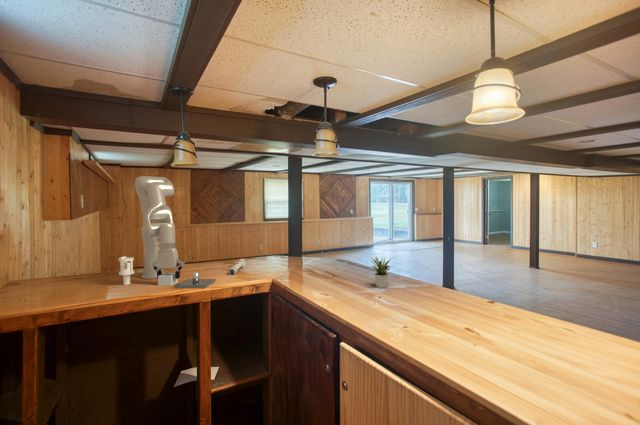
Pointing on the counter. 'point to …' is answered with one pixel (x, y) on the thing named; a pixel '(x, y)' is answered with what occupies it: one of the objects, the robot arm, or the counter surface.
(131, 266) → the white upright piece
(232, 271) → the white flashlight
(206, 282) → the grey plate with knob
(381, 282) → the house plant
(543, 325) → the counter surface
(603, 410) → the counter surface
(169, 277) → the collar
